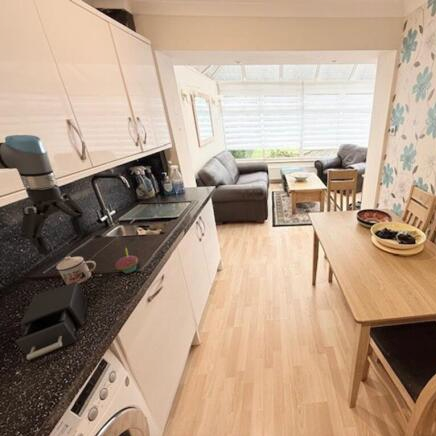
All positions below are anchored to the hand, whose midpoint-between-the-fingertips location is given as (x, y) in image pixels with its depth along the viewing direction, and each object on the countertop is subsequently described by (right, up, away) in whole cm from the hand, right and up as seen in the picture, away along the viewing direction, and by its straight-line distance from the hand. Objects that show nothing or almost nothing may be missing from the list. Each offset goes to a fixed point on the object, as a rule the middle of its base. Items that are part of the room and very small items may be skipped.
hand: (63, 242), depth 85 cm
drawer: (+8, -29, -10) cm, 32 cm away
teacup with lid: (-9, -18, +19) cm, 28 cm away
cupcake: (+10, -15, +22) cm, 28 cm away
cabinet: (+3, -27, -3) cm, 27 cm away
